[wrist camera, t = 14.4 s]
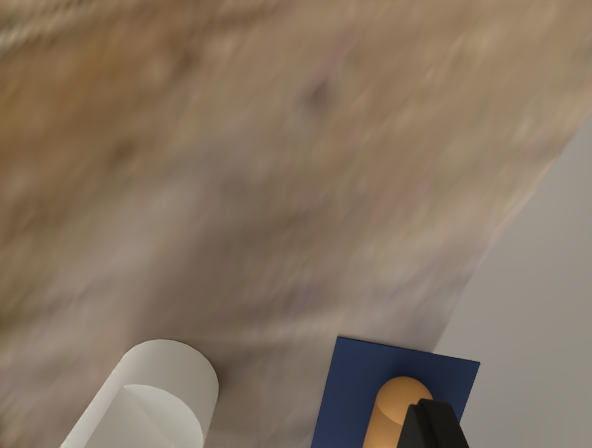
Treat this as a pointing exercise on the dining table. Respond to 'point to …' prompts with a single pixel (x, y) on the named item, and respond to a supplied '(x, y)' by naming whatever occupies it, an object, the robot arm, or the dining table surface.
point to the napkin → (370, 378)
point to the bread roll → (392, 411)
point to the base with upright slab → (151, 401)
